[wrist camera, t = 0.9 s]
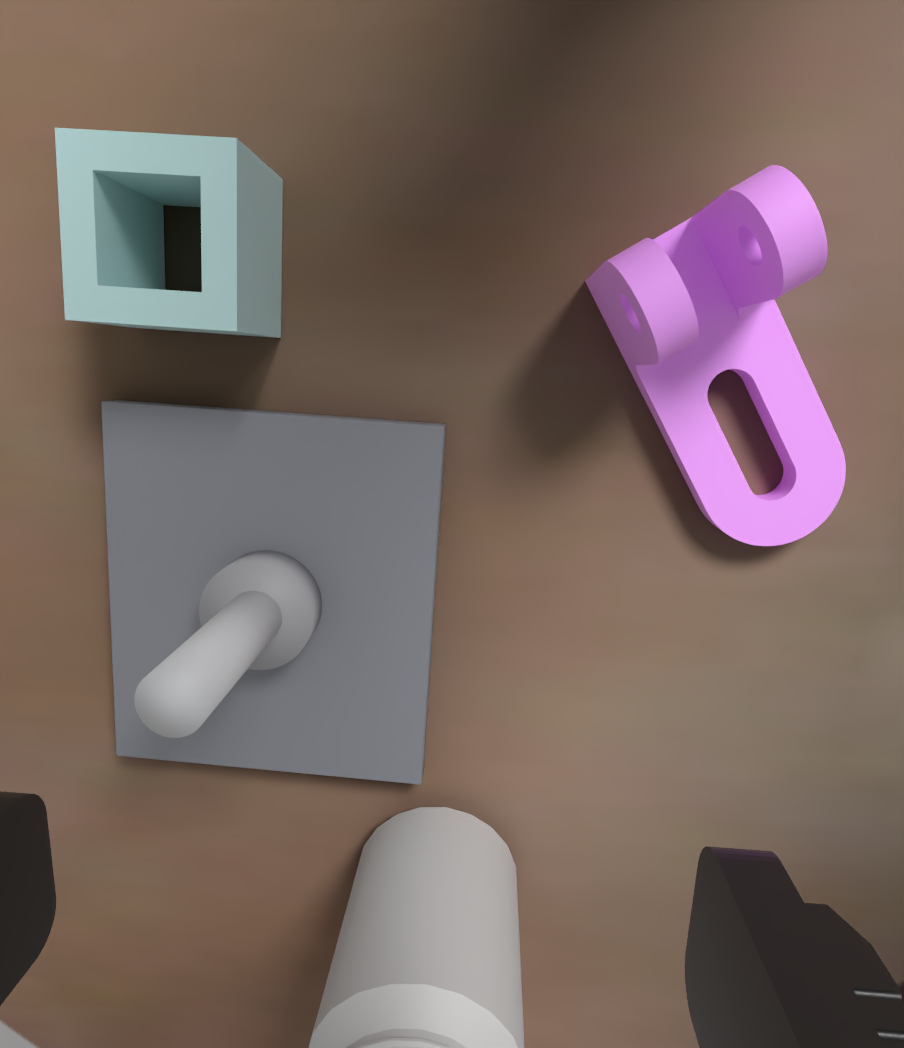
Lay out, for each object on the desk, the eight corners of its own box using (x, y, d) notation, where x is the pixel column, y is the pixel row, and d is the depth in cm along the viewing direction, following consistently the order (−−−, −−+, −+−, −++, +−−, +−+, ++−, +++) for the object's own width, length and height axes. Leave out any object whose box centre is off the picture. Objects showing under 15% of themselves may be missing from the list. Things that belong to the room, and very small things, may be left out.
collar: (132, 170, 27) (54, 127, 23) (282, 179, 27) (236, 137, 22) (137, 328, 29) (65, 319, 24) (280, 337, 29) (236, 331, 24)
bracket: (584, 281, 28) (614, 252, 21) (715, 205, 27) (791, 149, 20) (724, 560, 30) (793, 617, 23) (850, 498, 29) (960, 538, 22)
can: (332, 834, 33) (245, 1083, 22) (468, 769, 32) (454, 997, 21) (410, 952, 35) (368, 1249, 23) (544, 894, 34) (571, 1175, 22)
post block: (116, 399, 29) (-84, 416, 19) (446, 423, 29) (419, 453, 19) (129, 741, 33) (-34, 909, 23) (423, 769, 32) (391, 954, 22)
